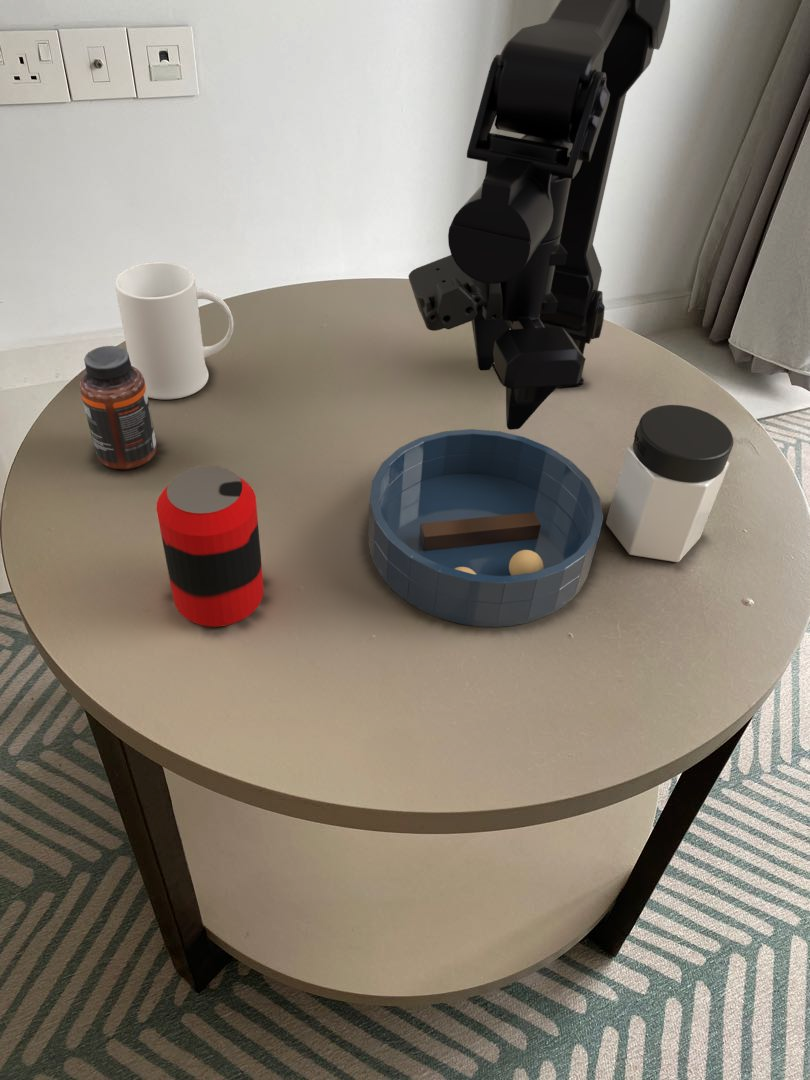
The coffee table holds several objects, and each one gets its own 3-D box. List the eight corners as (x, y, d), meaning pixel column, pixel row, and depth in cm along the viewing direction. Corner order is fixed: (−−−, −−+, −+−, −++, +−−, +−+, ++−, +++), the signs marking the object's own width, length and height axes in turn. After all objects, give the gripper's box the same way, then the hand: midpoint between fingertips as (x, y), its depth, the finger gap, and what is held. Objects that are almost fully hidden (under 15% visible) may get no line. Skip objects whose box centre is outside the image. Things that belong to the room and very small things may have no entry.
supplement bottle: (168, 444, 89) (152, 347, 82) (137, 478, 85) (117, 380, 77) (117, 430, 91) (97, 334, 83) (84, 463, 86) (59, 365, 79)
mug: (240, 358, 102) (231, 261, 93) (235, 400, 96) (226, 300, 87) (136, 358, 101) (119, 259, 92) (125, 400, 94) (105, 299, 86)
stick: (532, 525, 82) (535, 511, 81) (538, 538, 81) (541, 524, 80) (418, 537, 80) (420, 523, 79) (423, 551, 79) (424, 536, 78)
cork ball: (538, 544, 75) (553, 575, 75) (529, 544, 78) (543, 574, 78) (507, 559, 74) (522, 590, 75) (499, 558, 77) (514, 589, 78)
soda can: (262, 628, 72) (252, 521, 64) (169, 630, 71) (147, 522, 63) (265, 563, 78) (257, 457, 69) (179, 565, 77) (160, 458, 69)
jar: (637, 490, 88) (668, 390, 80) (711, 528, 84) (751, 428, 76) (591, 534, 83) (619, 433, 75) (667, 577, 79) (706, 474, 71)
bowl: (548, 465, 90) (557, 421, 86) (624, 611, 76) (639, 567, 72) (352, 482, 86) (352, 438, 83) (392, 641, 72) (395, 595, 68)
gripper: (397, 182, 72) (389, 348, 83) (452, 291, 59) (434, 471, 69) (525, 179, 74) (501, 341, 85) (606, 283, 61) (565, 459, 71)
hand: (498, 397), depth 77 cm, fingers open, 9 cm apart
